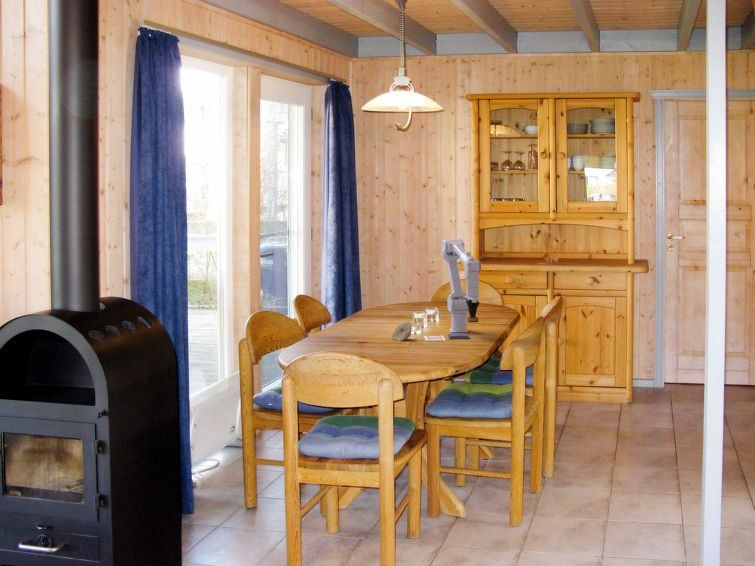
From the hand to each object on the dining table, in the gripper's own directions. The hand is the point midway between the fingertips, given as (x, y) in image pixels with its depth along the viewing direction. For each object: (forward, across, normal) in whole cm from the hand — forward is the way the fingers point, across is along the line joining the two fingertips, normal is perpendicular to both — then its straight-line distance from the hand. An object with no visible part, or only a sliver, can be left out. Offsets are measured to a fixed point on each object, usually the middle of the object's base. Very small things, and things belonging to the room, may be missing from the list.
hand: (472, 316), depth 428 cm
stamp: (+2, 0, 0) cm, 3 cm away
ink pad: (+9, +1, -7) cm, 12 cm away
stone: (+10, +4, -32) cm, 34 cm away
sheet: (+9, +3, -18) cm, 20 cm away
